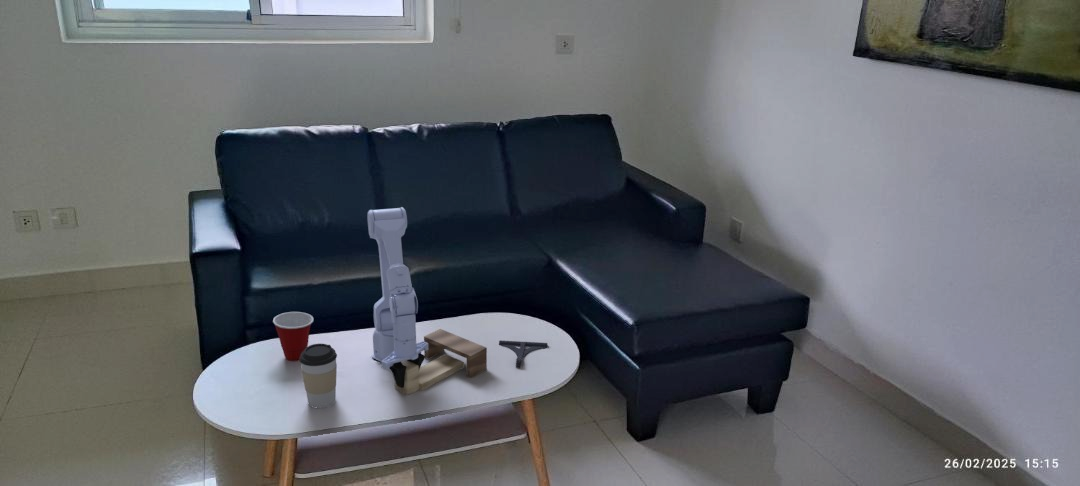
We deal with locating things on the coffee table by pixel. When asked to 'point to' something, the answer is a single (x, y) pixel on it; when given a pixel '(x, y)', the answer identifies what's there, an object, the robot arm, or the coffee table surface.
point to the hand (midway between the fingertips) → (406, 383)
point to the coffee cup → (319, 374)
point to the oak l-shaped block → (428, 373)
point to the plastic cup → (293, 333)
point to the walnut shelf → (457, 350)
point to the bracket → (522, 348)
